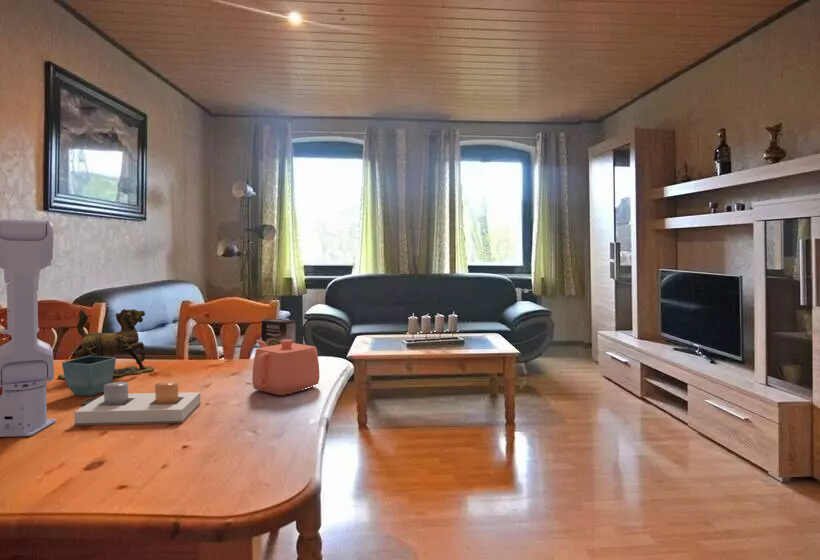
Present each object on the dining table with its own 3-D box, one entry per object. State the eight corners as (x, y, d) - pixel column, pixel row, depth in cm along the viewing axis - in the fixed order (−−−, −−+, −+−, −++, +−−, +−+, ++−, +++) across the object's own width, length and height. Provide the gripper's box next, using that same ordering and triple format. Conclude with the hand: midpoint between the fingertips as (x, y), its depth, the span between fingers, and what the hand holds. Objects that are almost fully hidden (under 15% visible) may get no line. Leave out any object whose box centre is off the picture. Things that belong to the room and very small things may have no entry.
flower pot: (90, 399, 129) (90, 364, 128) (61, 396, 130) (60, 362, 130) (117, 390, 137) (116, 357, 137) (89, 388, 139) (88, 355, 139)
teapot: (283, 376, 157) (283, 331, 156) (329, 386, 145) (329, 338, 145) (226, 389, 140) (226, 339, 139) (273, 402, 129) (274, 348, 128)
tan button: (174, 403, 116) (174, 386, 116) (152, 404, 115) (151, 386, 115) (181, 397, 121) (181, 381, 121) (159, 398, 120) (159, 381, 120)
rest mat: (107, 405, 124) (107, 403, 124) (80, 405, 123) (80, 403, 123) (118, 398, 130) (118, 396, 130) (92, 398, 129) (92, 397, 129)
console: (182, 423, 112) (182, 409, 112) (74, 425, 109) (74, 411, 109) (200, 404, 126) (200, 392, 126) (105, 406, 123) (105, 393, 123)
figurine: (154, 375, 155) (153, 308, 154) (54, 383, 143) (53, 311, 142) (153, 366, 167) (152, 304, 166) (60, 373, 155) (59, 307, 154)
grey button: (123, 404, 115) (122, 387, 114) (100, 405, 114) (99, 387, 114) (131, 398, 119) (131, 381, 119) (110, 399, 119) (109, 382, 119)
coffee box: (260, 371, 163) (260, 320, 162) (271, 366, 169) (271, 318, 168) (285, 373, 160) (285, 322, 159) (296, 369, 166) (296, 319, 165)
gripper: (2, 308, 123) (3, 363, 124) (-2, 315, 111) (0, 376, 112) (38, 306, 127) (39, 360, 128) (38, 313, 116) (39, 372, 116)
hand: (23, 368), depth 121 cm, fingers open, 7 cm apart
